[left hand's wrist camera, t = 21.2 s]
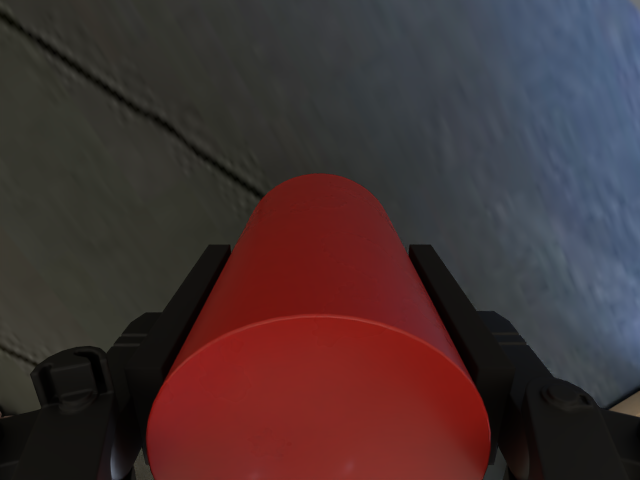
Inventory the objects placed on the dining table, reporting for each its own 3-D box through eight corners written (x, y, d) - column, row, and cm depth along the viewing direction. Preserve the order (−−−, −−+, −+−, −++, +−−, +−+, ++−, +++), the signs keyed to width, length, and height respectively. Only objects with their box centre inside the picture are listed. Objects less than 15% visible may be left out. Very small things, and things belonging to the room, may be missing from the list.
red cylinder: (327, 333, 19) (335, 603, 9) (216, 253, 17) (81, 476, 7) (423, 237, 17) (565, 446, 7) (309, 140, 15) (291, 236, 6)
